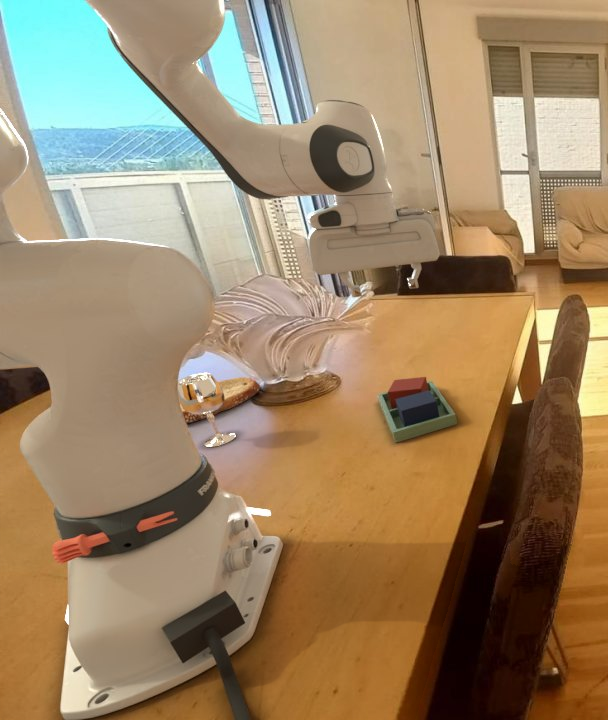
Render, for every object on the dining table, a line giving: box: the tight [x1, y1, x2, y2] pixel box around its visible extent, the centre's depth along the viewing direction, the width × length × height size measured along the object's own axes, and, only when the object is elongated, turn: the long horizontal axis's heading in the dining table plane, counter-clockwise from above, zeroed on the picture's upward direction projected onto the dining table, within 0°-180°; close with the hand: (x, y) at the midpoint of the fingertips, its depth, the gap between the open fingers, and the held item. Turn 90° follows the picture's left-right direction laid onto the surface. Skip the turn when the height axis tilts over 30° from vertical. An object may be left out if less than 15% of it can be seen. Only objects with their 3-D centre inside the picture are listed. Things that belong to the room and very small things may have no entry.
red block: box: [387, 376, 428, 409], centre depth 93 cm, size 6×6×4 cm
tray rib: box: [390, 397, 440, 418], centre depth 90 cm, size 1×9×2 cm, turn 124°
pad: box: [396, 390, 440, 427], centre depth 87 cm, size 6×6×4 cm
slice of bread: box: [180, 376, 261, 425], centre depth 95 cm, size 18×18×4 cm
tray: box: [376, 380, 458, 444], centre depth 90 cm, size 18×11×2 cm, turn 33°
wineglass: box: [178, 372, 237, 448], centre depth 82 cm, size 6×6×12 cm
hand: (386, 291), depth 85 cm, fingers open, 8 cm apart
